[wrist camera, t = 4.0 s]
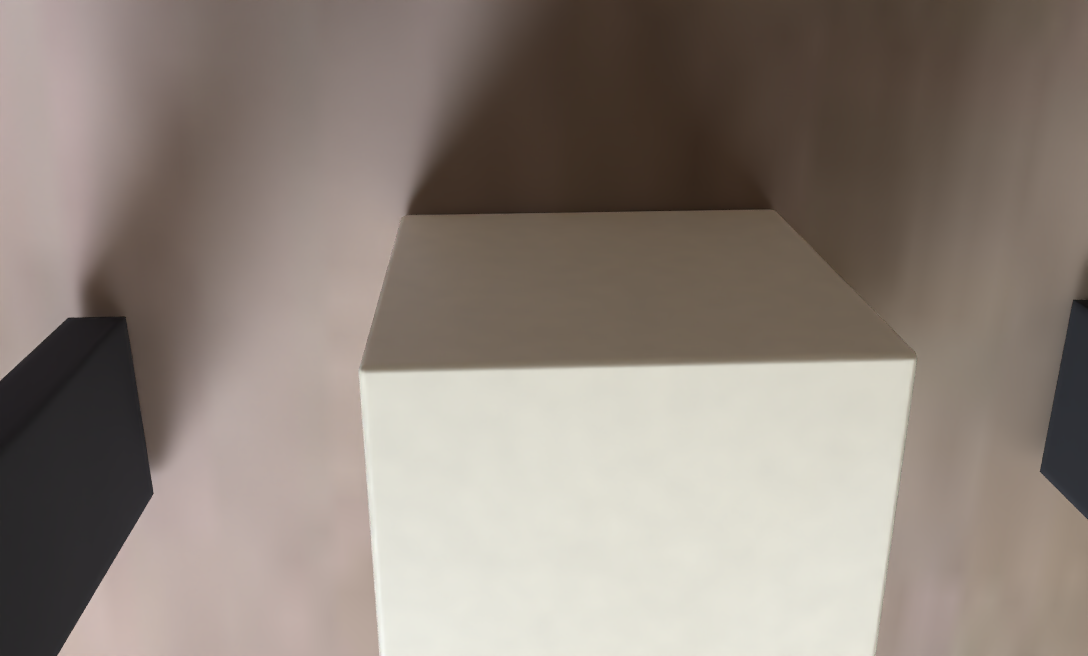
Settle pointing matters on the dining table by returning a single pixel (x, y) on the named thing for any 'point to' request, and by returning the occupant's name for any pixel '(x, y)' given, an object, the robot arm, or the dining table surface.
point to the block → (628, 439)
